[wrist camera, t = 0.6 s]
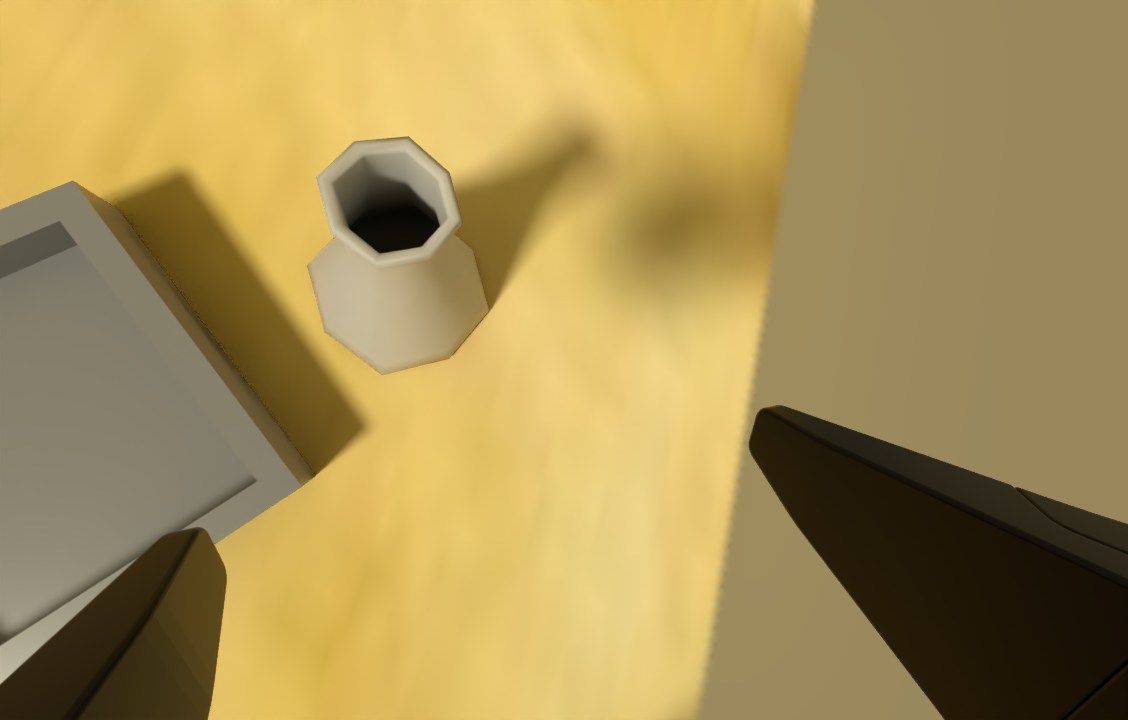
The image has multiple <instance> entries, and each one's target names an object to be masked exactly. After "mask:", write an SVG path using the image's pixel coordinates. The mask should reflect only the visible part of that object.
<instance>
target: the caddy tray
mask: <svg viewBox="0 0 1128 720" xmlns="http://www.w3.org/2000/svg"><path fill="white" fill-rule="evenodd" d="M315 476H316V475H315V474H314V472H313V471H312V470H311V468H310V467H309V466H308V464H307V463H306V462H305V460H304V459H303V458H302V456H301V455H300V453H299V452H298V451H297V449H296V448H295V447H294V445H293V444H292V443H291V441H290V440H289V439H288V437H287V436H286V435H285V433H284V432H283V431H282V429H281V428H280V427H279V425H278V424H277V422H276V421H275V420H274V418H273V417H272V416H271V414H270V413H269V412H268V410H267V409H266V408H265V406H264V405H263V404H262V402H261V401H260V400H259V398H258V397H257V396H256V394H255V393H254V391H253V390H252V389H251V387H250V386H249V385H248V383H247V382H246V381H245V379H244V378H243V377H242V375H241V374H240V373H239V371H238V370H237V369H236V367H235V366H234V365H233V363H232V362H231V360H230V359H229V358H228V356H227V355H226V354H225V352H224V351H223V350H222V348H221V347H220V346H219V344H218V343H217V342H216V340H215V339H214V338H213V336H212V335H211V334H210V332H209V331H208V329H207V328H206V327H205V325H204V324H203V323H202V321H201V320H200V319H199V317H198V316H197V315H196V313H195V312H194V311H193V309H192V308H191V307H190V305H189V304H188V302H187V301H186V300H185V298H184V297H183V296H182V294H181V293H180V292H179V290H178V289H177V288H176V286H175V285H174V284H173V282H172V281H171V280H170V278H169V277H168V276H167V274H166V273H165V271H164V270H163V269H162V267H161V266H160V265H159V263H158V262H157V261H156V259H155V258H154V257H153V255H152V254H151V253H150V251H149V250H148V249H147V247H146V246H145V245H144V243H143V242H142V240H141V239H140V238H139V236H138V235H137V234H136V232H135V231H134V230H133V228H132V227H131V226H130V224H129V223H128V222H127V220H126V219H125V218H124V216H123V215H122V214H121V212H120V211H119V210H118V209H117V208H115V207H114V206H112V205H111V204H109V203H107V202H106V201H104V200H103V199H101V198H100V197H98V196H96V195H95V194H93V193H92V192H90V191H89V190H87V189H85V188H84V187H82V186H81V185H79V184H78V183H76V182H74V181H71V182H68V183H66V184H63V185H61V186H58V187H56V188H53V189H51V190H48V191H46V192H43V193H41V194H38V195H36V196H33V197H31V198H28V199H26V200H23V201H21V202H18V203H16V204H13V205H11V206H8V207H6V208H4V209H1V210H0V684H1V683H2V682H3V681H4V680H5V679H6V678H7V677H8V676H9V675H11V674H12V673H13V672H14V671H15V670H16V669H17V668H18V667H19V666H20V665H22V664H23V663H24V662H25V661H26V660H27V659H28V658H29V657H30V656H31V655H32V654H34V653H35V652H36V651H37V650H38V649H39V648H40V647H41V646H42V645H43V644H44V643H46V642H47V641H48V640H49V639H50V638H51V637H52V636H53V635H54V634H55V633H56V632H58V631H59V630H60V629H61V628H62V627H63V626H64V625H65V624H66V623H67V622H68V621H70V620H71V619H72V618H73V617H74V616H75V615H76V614H77V613H78V612H79V611H80V610H82V609H83V608H84V607H85V606H86V605H87V604H88V603H89V602H90V601H91V600H92V599H94V598H95V597H96V596H97V595H98V594H99V593H100V592H101V591H102V590H103V589H104V588H106V587H107V586H108V585H109V584H110V583H111V582H112V581H113V580H114V579H115V578H116V577H118V576H119V575H120V574H121V573H122V572H123V571H124V570H125V569H126V568H127V567H129V566H130V565H131V564H132V563H133V562H134V561H135V560H136V559H137V558H138V557H139V556H141V555H142V554H143V553H144V552H145V551H146V550H147V549H148V548H149V547H150V546H151V545H153V544H154V543H155V542H156V541H157V540H158V539H159V538H161V537H162V536H163V535H165V534H168V533H171V532H175V531H180V530H185V529H190V528H194V527H202V528H204V529H205V530H206V531H207V532H208V533H209V535H210V537H211V539H212V541H213V543H214V544H216V543H217V542H219V541H220V540H222V539H223V538H225V537H226V536H228V535H229V534H231V533H232V532H234V531H235V530H237V529H238V528H240V527H241V526H243V525H244V524H246V523H247V522H249V521H250V520H252V519H253V518H255V517H256V516H258V515H259V514H261V513H262V512H264V511H265V510H267V509H268V508H270V507H271V506H273V505H274V504H276V503H277V502H279V501H280V500H282V499H284V498H285V497H287V496H288V495H290V494H291V493H293V492H294V491H296V490H297V489H299V488H300V487H302V486H303V485H304V484H306V483H307V482H308V481H309V480H311V479H312V478H313V477H315Z"/></svg>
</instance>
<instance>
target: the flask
mask: <svg viewBox="0 0 1128 720" xmlns="http://www.w3.org/2000/svg"><path fill="white" fill-rule="evenodd" d="M316 178H317V182H318V186H319V190H320V193H321V197H322V201H323V205H324V209H325V212H326V216H327V220H328V224H329V227H330V231H331V234H332V235H333V236H335V237H334V238H333V239H332V240H331V241H330V242H329V243H328V244H327V245H326V246H325V247H324V248H323V249H322V250H321V251H320V252H319V253H318V254H317V256H316V257H315V258H314V259H313V260H312V261H311V262H310V263H309V264H308V265H307V266H308V270H309V274H310V278H311V281H312V285H313V289H314V293H315V297H316V300H317V304H318V308H319V312H320V315H321V319H322V323H323V327H324V331H325V332H326V333H327V334H328V335H330V336H331V337H332V338H334V339H335V340H336V341H338V342H339V343H340V344H342V345H343V346H344V347H346V348H347V349H348V350H349V351H351V352H352V353H353V354H355V355H356V356H357V357H359V358H360V359H361V360H363V361H364V362H365V363H367V364H368V365H369V366H371V367H372V368H373V369H375V370H376V371H377V372H379V373H380V374H381V375H384V374H388V373H392V372H396V371H401V370H405V369H409V368H413V367H417V366H421V365H425V364H429V363H433V362H438V361H442V360H446V359H449V358H450V357H451V356H452V355H453V353H454V352H455V351H456V350H457V348H458V347H459V346H460V345H461V344H462V342H463V341H464V340H465V339H466V338H467V336H468V335H469V334H470V333H471V332H472V330H473V329H474V328H475V327H476V326H477V324H478V323H479V322H480V321H481V320H482V318H483V317H484V316H485V315H486V314H487V312H488V311H489V308H488V305H487V301H486V297H485V293H484V289H483V286H482V282H481V278H480V274H479V270H478V267H477V263H476V259H475V255H474V252H473V250H472V249H471V248H470V247H469V246H468V245H467V244H465V243H464V242H463V241H462V240H461V239H459V238H458V237H457V236H456V235H455V234H454V233H455V232H456V231H457V230H458V228H459V227H460V226H461V225H462V218H461V214H460V210H459V207H458V203H457V199H456V195H455V191H454V188H453V184H452V180H451V176H450V173H449V172H448V171H447V170H446V169H445V168H444V167H443V166H441V165H440V164H439V163H438V162H437V161H436V160H435V159H434V158H432V157H431V156H430V155H429V154H428V153H427V152H426V151H424V150H423V149H422V148H421V147H420V146H419V145H418V144H416V143H415V142H414V141H413V140H412V139H411V138H410V137H398V138H387V139H376V140H366V141H355V142H353V143H352V144H351V145H350V146H349V147H348V148H347V149H346V150H345V151H344V152H343V153H342V154H341V155H340V156H338V157H337V158H336V159H335V160H334V161H333V162H332V163H331V164H330V165H329V166H328V167H327V168H326V169H325V170H324V171H323V172H322V173H321V174H320V175H319V176H318V177H316Z"/></svg>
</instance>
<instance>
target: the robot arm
mask: <svg viewBox="0 0 1128 720" xmlns="http://www.w3.org/2000/svg"><path fill="white" fill-rule="evenodd" d="M749 450H750V453H751V455H752V457H753V458H754V460H755V461H756V463H757V465H758V466H759V468H760V469H761V471H762V473H763V474H764V475H765V477H766V479H767V480H768V482H769V484H770V485H771V487H772V488H773V490H774V492H775V493H776V495H777V496H778V498H779V499H780V501H781V502H782V504H783V506H784V507H785V509H786V510H787V512H788V513H789V515H790V517H791V518H792V520H793V521H794V522H795V524H796V525H797V527H798V528H799V529H800V531H801V532H802V534H803V535H804V536H805V537H806V539H807V540H808V541H809V543H810V544H811V545H812V547H813V548H814V549H815V550H816V552H817V553H818V554H819V556H820V557H821V558H822V560H823V561H824V562H825V564H826V565H827V566H828V568H829V569H830V570H831V572H832V573H833V574H834V575H835V577H836V578H837V579H838V581H839V582H840V583H841V585H842V586H843V587H844V589H845V590H846V591H847V592H848V594H849V595H850V596H851V597H852V599H853V600H854V602H855V603H856V604H857V606H858V607H859V608H860V609H861V611H862V612H863V613H864V615H865V616H866V617H867V619H868V620H869V621H870V623H871V624H872V625H873V626H874V628H875V629H876V630H877V632H878V633H879V634H880V636H881V637H882V638H883V640H884V641H885V642H886V644H887V645H888V646H889V647H890V649H891V650H892V651H893V652H894V654H895V655H896V657H897V658H898V659H899V660H900V662H901V663H902V664H903V666H904V667H905V668H906V670H907V671H908V672H909V674H910V675H911V676H912V678H913V679H914V680H915V681H916V683H917V684H918V685H919V686H920V688H921V689H922V691H923V692H924V693H925V694H926V696H927V697H928V698H929V700H930V701H931V702H932V704H933V705H934V706H935V708H936V709H937V710H938V712H939V713H940V714H941V715H942V717H943V718H944V719H945V720H1128V524H1126V523H1123V522H1120V521H1116V520H1114V519H1110V518H1107V517H1104V516H1101V515H1098V514H1095V513H1091V512H1088V511H1085V510H1082V509H1080V508H1077V507H1074V506H1071V505H1068V504H1065V503H1062V502H1059V501H1055V500H1053V499H1050V498H1047V497H1044V496H1041V495H1038V494H1035V493H1033V492H1030V491H1027V490H1024V489H1021V488H1018V487H1016V488H1014V487H1013V486H1011V485H1009V484H1006V483H1004V482H1001V481H998V480H995V479H992V478H989V477H986V476H983V475H980V474H977V473H975V472H972V471H969V470H966V469H963V468H960V467H958V466H955V465H952V464H949V463H946V462H943V461H940V460H937V459H934V458H931V457H929V456H926V455H923V454H920V453H917V452H914V451H912V450H909V449H906V448H903V447H900V446H897V445H894V444H891V443H888V442H886V441H883V440H880V439H877V438H874V437H871V436H869V435H866V434H863V433H859V432H857V431H854V430H851V429H848V428H846V427H842V426H840V425H837V424H834V423H831V422H828V421H825V420H822V419H819V418H817V417H814V416H811V415H808V414H805V413H802V412H800V411H797V410H794V409H791V408H788V407H785V406H782V405H776V406H771V407H766V408H762V409H761V410H760V411H759V412H758V413H757V415H756V418H755V422H754V425H753V429H752V432H751V436H750V439H749ZM226 584H227V575H226V569H225V566H224V563H223V561H222V559H221V557H220V555H219V553H218V551H217V549H216V547H215V545H214V543H213V541H212V539H211V537H210V535H209V533H208V532H207V531H206V530H205V529H204V528H202V527H194V528H190V529H185V530H180V531H175V532H171V533H168V534H165V535H163V536H162V537H161V538H159V539H158V540H157V541H156V542H155V543H154V544H153V545H151V546H150V547H149V548H148V549H147V550H146V551H145V552H144V553H143V554H142V555H141V556H139V557H138V558H137V559H136V560H135V561H134V562H133V563H132V564H131V565H130V566H129V567H127V568H126V569H125V570H124V571H123V572H122V573H121V574H120V575H119V576H118V577H116V578H115V579H114V580H113V581H112V582H111V583H110V584H109V585H108V586H107V587H106V588H104V589H103V590H102V591H101V592H100V593H99V594H98V595H97V596H96V597H95V598H94V599H92V600H91V601H90V602H89V603H88V604H87V605H86V606H85V607H84V608H83V609H82V610H80V611H79V612H78V613H77V614H76V615H75V616H74V617H73V618H72V619H71V620H70V621H68V622H67V623H66V624H65V625H64V626H63V627H62V628H61V629H60V630H59V631H58V632H56V633H55V634H54V635H53V636H52V637H51V638H50V639H49V640H48V641H47V642H46V643H44V644H43V645H42V646H41V647H40V648H39V649H38V650H37V651H36V652H35V653H34V654H32V655H31V656H30V657H29V658H28V659H27V660H26V661H25V662H24V663H23V664H22V665H20V666H19V667H18V668H17V669H16V670H15V671H14V672H13V673H12V674H11V675H9V676H8V677H7V678H6V679H5V680H4V681H3V682H2V683H1V684H0V720H208V716H209V711H210V706H211V702H212V695H213V688H214V681H215V673H216V665H217V657H218V649H219V641H220V633H221V625H222V617H223V609H224V601H225V593H226Z"/></svg>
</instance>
